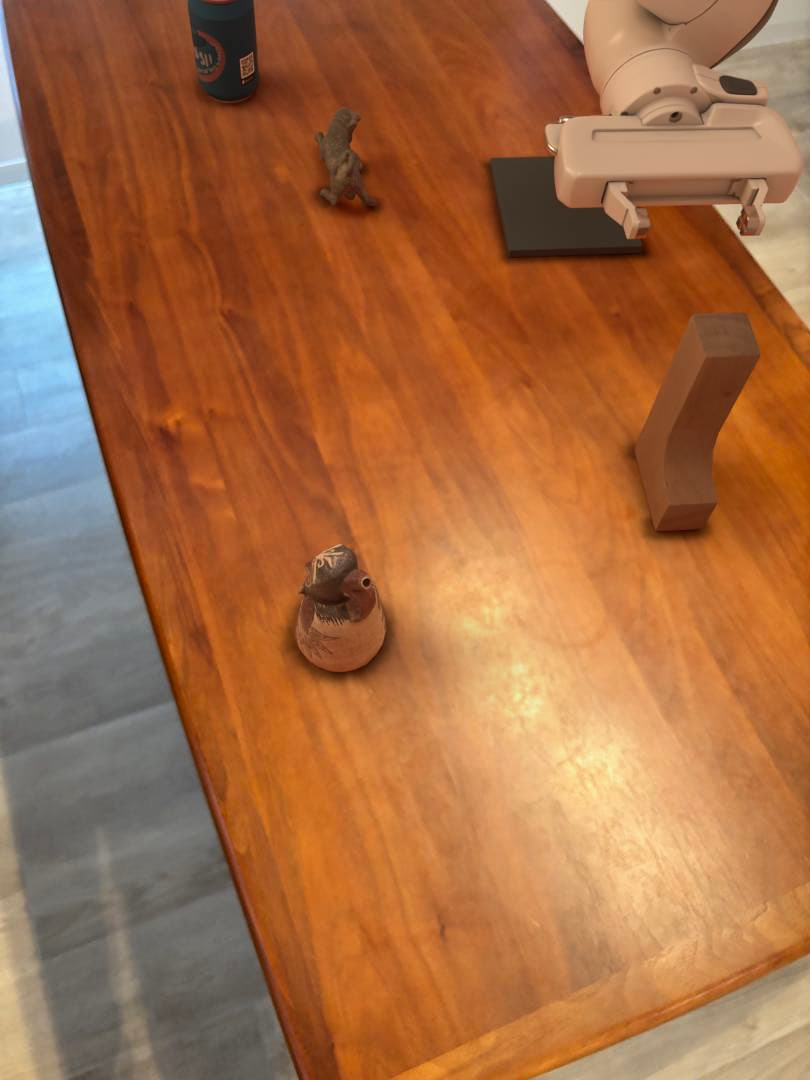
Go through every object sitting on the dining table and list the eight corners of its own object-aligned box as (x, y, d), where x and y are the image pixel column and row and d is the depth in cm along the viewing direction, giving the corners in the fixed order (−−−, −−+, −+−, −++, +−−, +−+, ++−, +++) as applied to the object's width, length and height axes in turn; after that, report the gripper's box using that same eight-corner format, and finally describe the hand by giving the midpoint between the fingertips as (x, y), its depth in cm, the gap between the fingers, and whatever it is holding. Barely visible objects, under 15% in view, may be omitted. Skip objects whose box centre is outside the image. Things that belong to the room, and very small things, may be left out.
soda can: (186, 86, 114) (170, -17, 104) (231, 60, 117) (220, -43, 107) (228, 115, 112) (216, 13, 102) (273, 87, 115) (266, -15, 104)
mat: (613, 162, 112) (615, 154, 111) (640, 253, 105) (643, 246, 104) (489, 165, 110) (490, 157, 109) (508, 257, 103) (509, 250, 102)
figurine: (343, 578, 84) (343, 501, 73) (403, 635, 81) (411, 564, 71) (278, 631, 81) (268, 559, 71) (338, 692, 79) (337, 626, 68)
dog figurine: (379, 218, 105) (381, 160, 99) (324, 222, 104) (323, 163, 98) (364, 142, 111) (365, 82, 105) (311, 145, 110) (310, 85, 104)
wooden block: (703, 530, 88) (780, 403, 72) (653, 533, 88) (720, 405, 72) (679, 446, 92) (747, 309, 77) (632, 448, 92) (690, 311, 76)
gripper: (546, 85, 83) (577, 203, 76) (784, 83, 85) (834, 197, 78) (533, 149, 88) (561, 264, 81) (757, 145, 90) (802, 257, 83)
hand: (697, 231), depth 80 cm, fingers open, 8 cm apart
